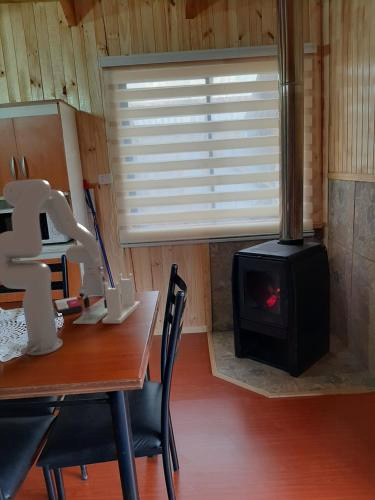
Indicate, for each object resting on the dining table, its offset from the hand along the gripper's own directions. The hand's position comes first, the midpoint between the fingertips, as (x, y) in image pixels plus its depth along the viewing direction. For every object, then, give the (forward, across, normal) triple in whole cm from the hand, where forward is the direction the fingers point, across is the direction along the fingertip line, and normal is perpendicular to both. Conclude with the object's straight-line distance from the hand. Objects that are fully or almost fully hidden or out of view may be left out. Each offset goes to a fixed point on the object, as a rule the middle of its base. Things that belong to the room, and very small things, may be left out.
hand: (97, 307), depth 163 cm
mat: (+3, 0, 0) cm, 3 cm away
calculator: (+3, +18, -5) cm, 19 cm away
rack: (+3, -12, 0) cm, 12 cm away
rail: (+2, 0, 0) cm, 2 cm away
